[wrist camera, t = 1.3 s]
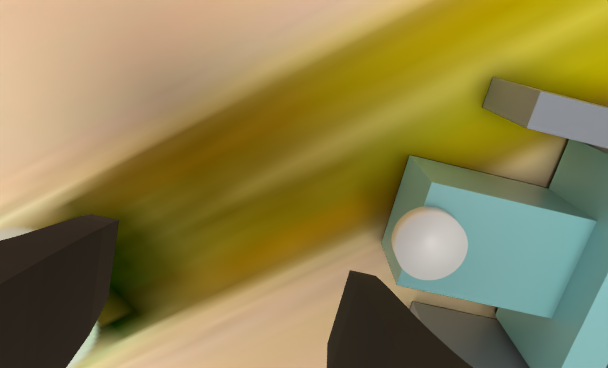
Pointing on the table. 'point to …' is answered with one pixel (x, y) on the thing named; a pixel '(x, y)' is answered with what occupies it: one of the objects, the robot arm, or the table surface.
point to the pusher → (513, 250)
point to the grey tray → (541, 117)
